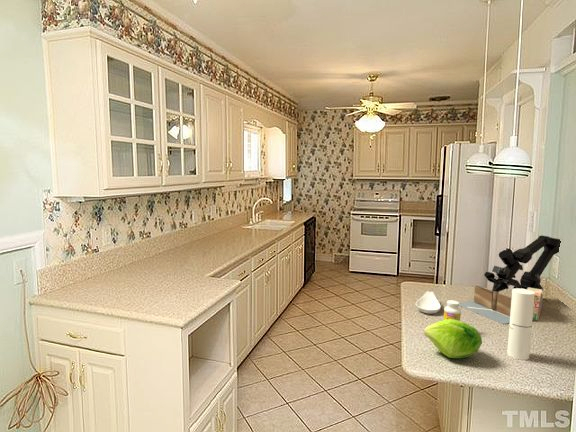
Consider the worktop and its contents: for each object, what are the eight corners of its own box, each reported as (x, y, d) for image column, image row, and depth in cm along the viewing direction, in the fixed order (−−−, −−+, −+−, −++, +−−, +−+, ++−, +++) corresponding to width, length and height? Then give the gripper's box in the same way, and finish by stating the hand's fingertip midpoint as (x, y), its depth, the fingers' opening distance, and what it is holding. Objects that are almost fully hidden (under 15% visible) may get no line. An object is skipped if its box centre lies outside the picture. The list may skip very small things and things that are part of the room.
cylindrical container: (520, 361, 141) (526, 295, 138) (502, 353, 148) (507, 289, 145) (533, 357, 144) (539, 293, 141) (515, 349, 150) (520, 287, 148)
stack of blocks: (527, 306, 201) (529, 283, 199) (541, 308, 197) (544, 285, 196) (522, 317, 184) (524, 292, 182) (538, 320, 180) (540, 295, 179)
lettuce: (420, 344, 155) (428, 310, 156) (474, 360, 148) (482, 325, 149) (420, 350, 141) (428, 313, 142) (480, 369, 134) (488, 330, 135)
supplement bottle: (443, 332, 167) (444, 303, 165) (442, 326, 173) (444, 298, 171) (460, 334, 164) (462, 305, 163) (459, 328, 170) (460, 300, 169)
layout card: (478, 300, 209) (478, 300, 208) (528, 320, 181) (528, 319, 181) (455, 303, 203) (455, 303, 203) (503, 324, 176) (503, 323, 176)
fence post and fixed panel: (494, 309, 195) (495, 291, 194) (522, 320, 180) (523, 300, 179) (490, 309, 194) (492, 291, 193) (518, 320, 180) (519, 301, 179)
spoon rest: (440, 318, 183) (440, 303, 183) (414, 314, 188) (414, 300, 187) (441, 302, 205) (441, 289, 204) (417, 299, 210) (418, 287, 209)
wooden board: (475, 301, 205) (476, 285, 204) (493, 308, 195) (494, 291, 194) (473, 301, 205) (474, 286, 204) (490, 308, 194) (492, 292, 193)
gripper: (487, 256, 207) (470, 278, 204) (519, 264, 190) (500, 288, 187) (497, 270, 211) (480, 291, 208) (529, 279, 193) (511, 302, 191)
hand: (492, 293), depth 198 cm, fingers closed
